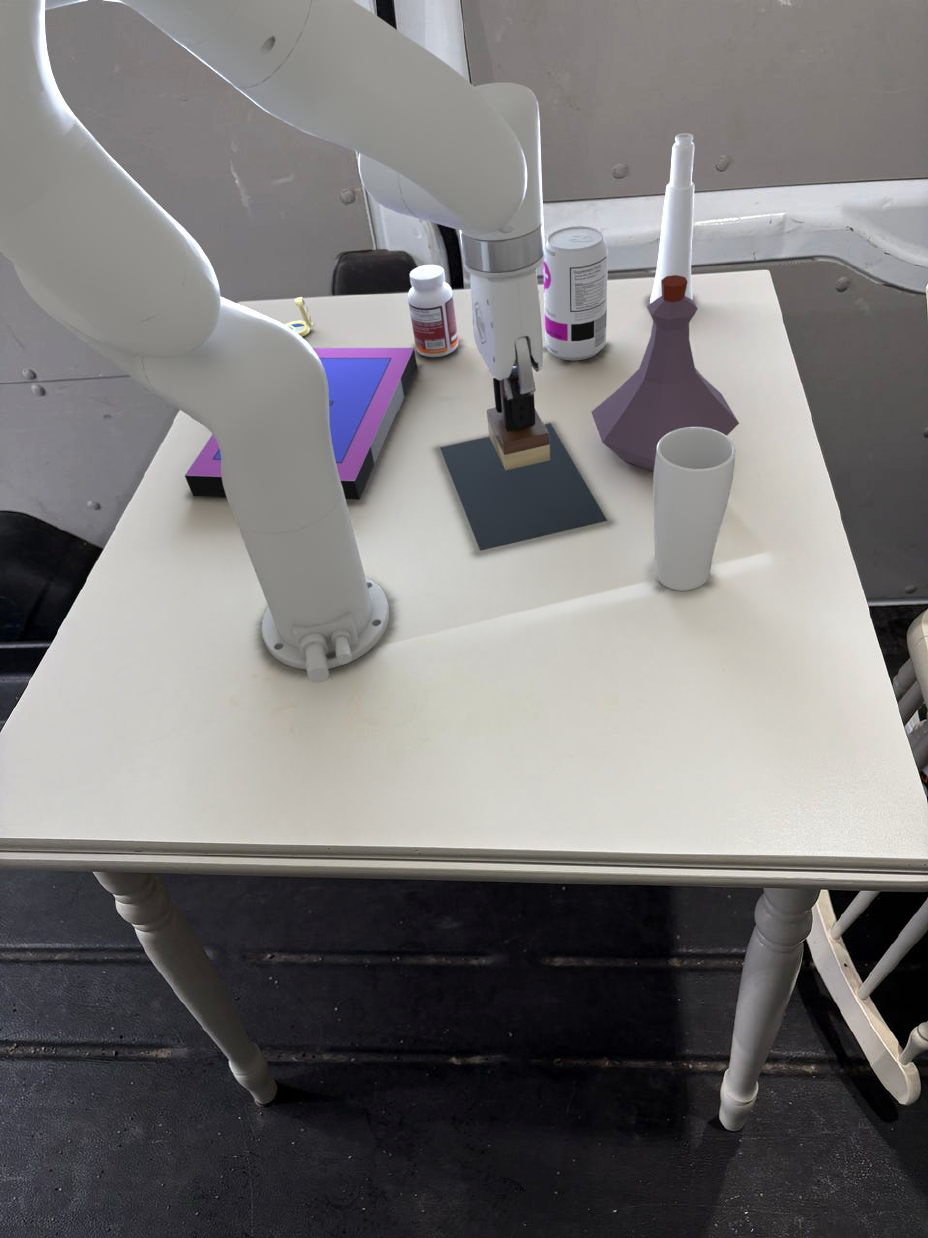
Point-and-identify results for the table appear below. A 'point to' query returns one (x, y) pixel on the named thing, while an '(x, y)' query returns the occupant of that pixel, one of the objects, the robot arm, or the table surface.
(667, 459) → the drinking glass
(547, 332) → the supplement can
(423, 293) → the pill bottle
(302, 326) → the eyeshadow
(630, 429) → the flask
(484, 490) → the mat
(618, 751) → the table surface
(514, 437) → the brush
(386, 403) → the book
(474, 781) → the table surface
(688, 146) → the cosmetic bottle
